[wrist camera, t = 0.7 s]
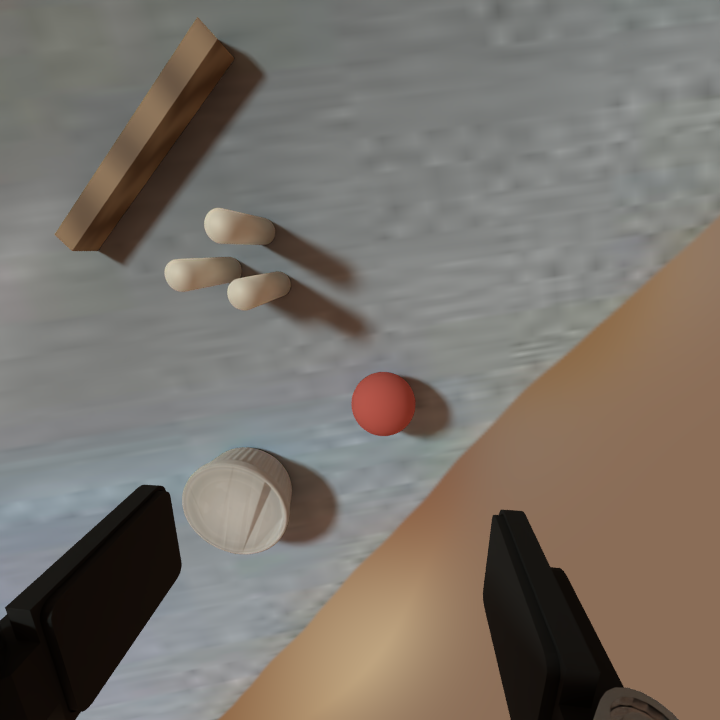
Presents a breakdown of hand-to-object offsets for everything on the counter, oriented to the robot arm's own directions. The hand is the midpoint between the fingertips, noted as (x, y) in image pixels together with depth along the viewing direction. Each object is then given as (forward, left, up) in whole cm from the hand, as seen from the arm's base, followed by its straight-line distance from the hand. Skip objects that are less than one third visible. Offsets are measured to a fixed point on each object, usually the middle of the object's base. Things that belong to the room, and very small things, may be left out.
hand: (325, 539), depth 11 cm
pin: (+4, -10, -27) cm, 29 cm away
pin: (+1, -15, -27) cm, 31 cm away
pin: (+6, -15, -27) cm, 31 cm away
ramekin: (+23, +3, -27) cm, 36 cm away
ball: (+4, +5, -24) cm, 25 cm away
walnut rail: (+4, -26, -27) cm, 38 cm away
